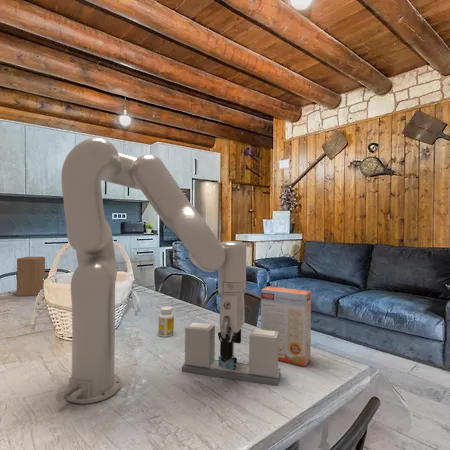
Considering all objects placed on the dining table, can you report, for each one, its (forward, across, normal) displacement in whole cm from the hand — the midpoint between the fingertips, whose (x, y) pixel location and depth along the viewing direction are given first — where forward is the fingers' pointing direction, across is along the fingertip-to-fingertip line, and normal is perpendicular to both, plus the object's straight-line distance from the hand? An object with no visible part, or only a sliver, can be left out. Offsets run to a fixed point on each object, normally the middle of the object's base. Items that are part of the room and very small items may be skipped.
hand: (231, 349), depth 86 cm
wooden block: (+6, +54, +126) cm, 138 cm away
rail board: (+6, 0, 0) cm, 6 cm away
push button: (+5, -1, 0) cm, 5 cm away
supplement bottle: (+6, +20, +30) cm, 37 cm away
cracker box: (+6, +14, -14) cm, 20 cm away
